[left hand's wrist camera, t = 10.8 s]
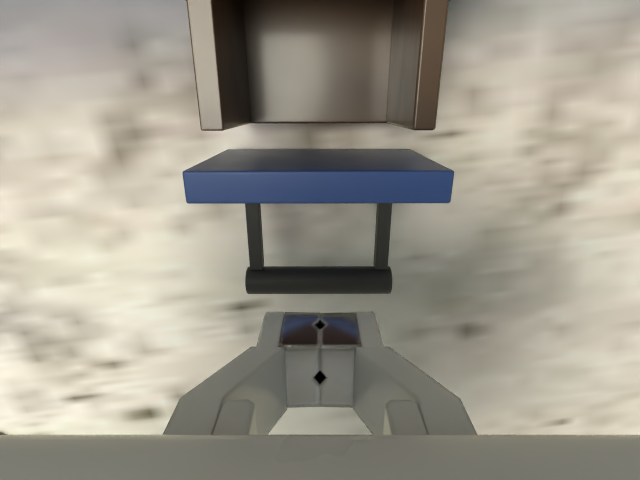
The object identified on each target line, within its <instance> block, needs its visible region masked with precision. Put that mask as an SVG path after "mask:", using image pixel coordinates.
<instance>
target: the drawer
mask: <svg viewBox="0 0 640 480" xmlns="http://www.w3.org/2000/svg"><path fill="white" fill-rule="evenodd" d="M448 2H449V0H187V8H188V17H189V26H190V35H191V44H192V53H193V62H194V71H195V80H196V89H197V98H198V107H199V116H200V125H201V130H202V131H223V130H226V129H230V128H234V127H238V126H241V125H245V124H249V123H390V124H394V125H397V126H401V127H405V128H409V129H412V130H434V129H435V125H436V116H437V106H438V97H439V87H440V78H441V68H442V59H443V49H444V40H445V31H446V21H447V12H448ZM453 177H454V171H452V170H450V169H448V168H446V167H444V166H442V165H440V164H438V163H436V162H434V161H432V160H430V159H428V158H426V157H424V156H422V155H420V154H418V153H416V152H414V151H412V150H410V149H229V150H226V151H224V152H222V153H220V154H218V155H216V156H214V157H212V158H210V159H208V160H206V161H204V162H201V163H199V164H197V165H195V166H193V167H191V168H189V169H187V170H185V171H183V180H184V187H185V195H186V202H187V203H245V207H246V220H247V233H248V246H249V260H250V267H248V268H247V271H246V291H247V293H248V294H389V293H391V290H392V272H391V269H390V267H389V266H388V253H389V239H390V225H391V211H392V203H450V201H451V193H452V185H453ZM260 203H377V213H376V231H375V249H374V266H299V267H263V266H264V255H263V239H262V222H261V206H260Z"/></svg>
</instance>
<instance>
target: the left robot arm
mask: <svg viewBox="0 0 640 480" xmlns="http://www.w3.org/2000/svg"><path fill="white" fill-rule="evenodd" d="M319 406H320V407H353V409H354V411H355V412H356V413H357V415H358V416H359V417H360V418H361V420H362V421H363V422H364V424H365V425H366V426H367V427H368V429H369V430H370V431H371V433H372V434H373V435H267V434H268V433H269V432H270V430H271V429H272V428H273V426H274V425H275V424H276V423H277V421H278V420H279V419H280V417H281V416H282V415H283V414H284V412H285V411H286V410H287V407H319ZM0 480H640V435H477V433H476V431H475V429H474V427H473V425H472V423H471V420H470V418H469V416H468V414H467V412H466V410H465V408H464V406H463V404H462V402H461V400H460V398H459V397H457V396H456V395H454V394H453V393H452V392H450V391H449V390H448V389H446V388H445V387H443V386H442V385H441V384H439V383H438V382H437V381H435V380H434V379H432V378H431V377H430V376H428V375H427V374H426V373H424V372H423V371H421V370H420V369H419V368H417V367H416V366H415V365H413V364H412V363H410V362H409V361H408V360H406V359H405V358H404V357H402V356H401V355H399V354H398V353H397V352H395V351H394V350H393V349H391V348H390V347H384V346H383V342H382V339H381V335H380V331H379V328H378V324H377V320H376V316H375V313H374V312H352V313H302V312H285V313H284V312H267V313H266V314H265V316H264V320H263V323H262V327H261V331H260V335H259V338H258V342H257V346H256V347H250V348H249V349H247V350H246V351H245V352H243V353H242V354H241V355H239V356H238V357H236V358H235V359H234V360H232V361H231V362H229V363H228V364H227V365H225V366H224V367H223V368H221V369H220V370H218V371H217V372H216V373H214V374H213V375H212V376H210V377H209V378H207V379H206V380H205V381H203V382H202V383H200V384H199V385H198V386H196V387H195V388H194V389H192V390H191V391H189V392H188V393H187V394H185V395H184V396H183V397H181V398H180V400H179V402H178V404H177V406H176V408H175V410H174V412H173V414H172V416H171V419H170V421H169V423H168V425H167V427H166V429H165V431H164V433H163V435H0Z"/></svg>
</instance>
